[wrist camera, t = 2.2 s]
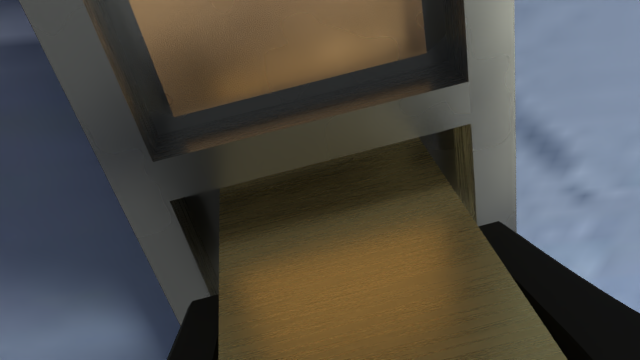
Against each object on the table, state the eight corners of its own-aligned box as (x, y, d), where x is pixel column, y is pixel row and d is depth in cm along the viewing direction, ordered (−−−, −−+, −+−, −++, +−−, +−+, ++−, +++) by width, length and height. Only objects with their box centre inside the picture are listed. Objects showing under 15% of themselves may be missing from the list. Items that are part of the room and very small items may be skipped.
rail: (498, 432, 17) (518, 475, 16) (282, 490, 17) (286, 538, 16) (462, -397, 7) (509, -445, 6) (-69, -271, 7) (-129, -296, 6)
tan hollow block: (435, 284, 13) (580, 581, 8) (270, 327, 13) (304, 658, 8) (418, 137, 11) (603, 412, 6) (219, 188, 11) (216, 516, 5)
